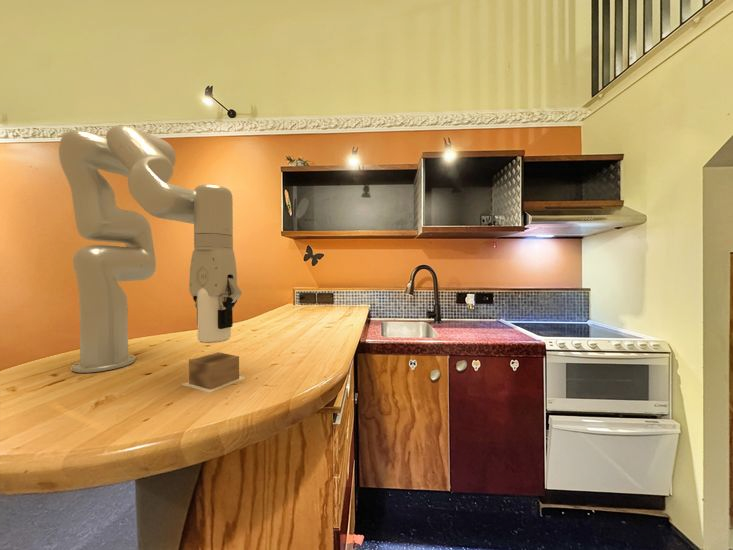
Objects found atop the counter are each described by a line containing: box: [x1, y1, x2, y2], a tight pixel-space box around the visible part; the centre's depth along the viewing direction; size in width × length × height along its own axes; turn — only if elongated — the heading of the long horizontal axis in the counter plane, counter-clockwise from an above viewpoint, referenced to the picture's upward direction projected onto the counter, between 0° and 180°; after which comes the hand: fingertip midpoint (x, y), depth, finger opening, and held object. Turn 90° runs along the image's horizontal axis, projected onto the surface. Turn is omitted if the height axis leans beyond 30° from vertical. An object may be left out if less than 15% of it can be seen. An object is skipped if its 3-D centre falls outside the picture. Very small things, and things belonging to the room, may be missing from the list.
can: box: [197, 285, 232, 344], centre depth 65 cm, size 6×6×12 cm
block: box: [188, 352, 240, 390], centre depth 65 cm, size 7×7×5 cm
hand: (214, 325), depth 65 cm, fingers closed on can, 6 cm apart
